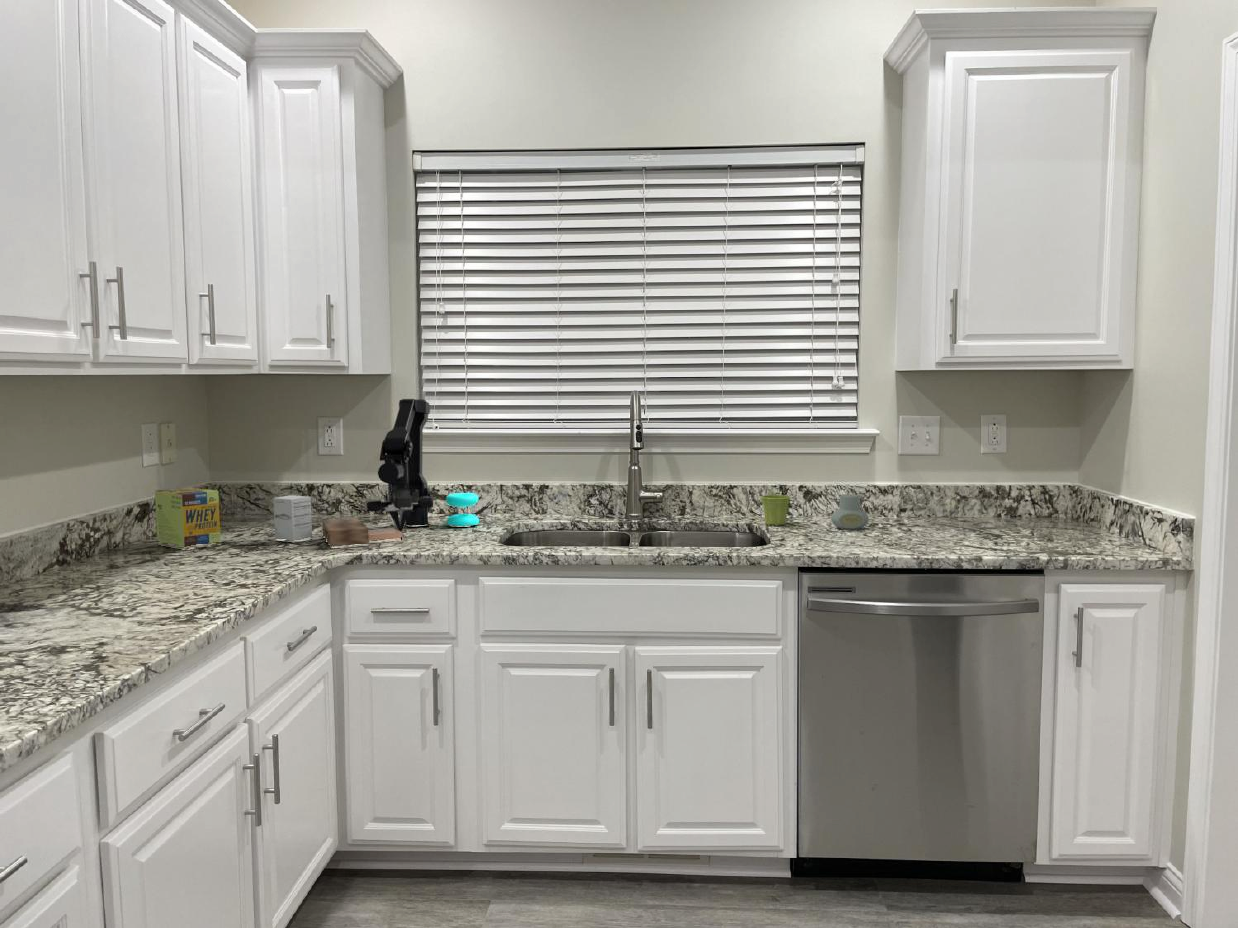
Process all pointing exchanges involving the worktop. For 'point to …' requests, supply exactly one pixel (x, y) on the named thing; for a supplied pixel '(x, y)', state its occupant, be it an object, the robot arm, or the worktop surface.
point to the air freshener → (849, 513)
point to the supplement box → (292, 517)
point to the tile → (384, 534)
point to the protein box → (187, 516)
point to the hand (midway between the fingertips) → (399, 533)
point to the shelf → (345, 532)
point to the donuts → (462, 501)
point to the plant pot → (775, 508)
